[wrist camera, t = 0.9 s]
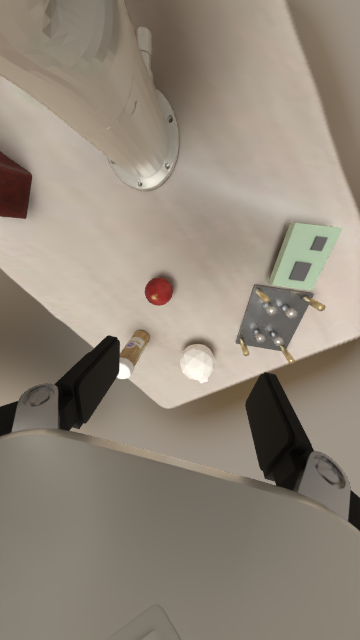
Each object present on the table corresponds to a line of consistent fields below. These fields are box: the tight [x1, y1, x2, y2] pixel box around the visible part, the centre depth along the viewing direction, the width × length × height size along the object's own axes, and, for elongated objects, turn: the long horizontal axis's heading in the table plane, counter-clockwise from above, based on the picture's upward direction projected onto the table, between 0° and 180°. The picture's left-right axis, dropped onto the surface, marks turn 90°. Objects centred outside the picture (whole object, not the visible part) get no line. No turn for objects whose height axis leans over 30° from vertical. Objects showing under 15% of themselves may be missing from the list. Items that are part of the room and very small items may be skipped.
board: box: [268, 223, 343, 291], centre depth 29 cm, size 10×7×3 cm
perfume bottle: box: [180, 344, 215, 384], centre depth 43 cm, size 9×9×12 cm
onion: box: [145, 278, 173, 306], centre depth 35 cm, size 6×6×8 cm
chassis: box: [236, 285, 325, 364], centre depth 36 cm, size 15×12×6 cm
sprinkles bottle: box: [117, 330, 149, 379], centre depth 40 cm, size 5×5×14 cm
